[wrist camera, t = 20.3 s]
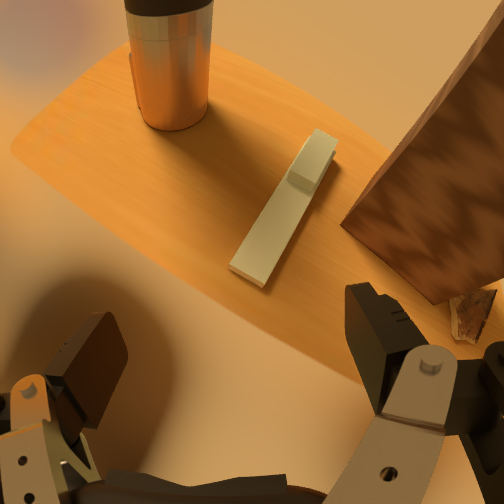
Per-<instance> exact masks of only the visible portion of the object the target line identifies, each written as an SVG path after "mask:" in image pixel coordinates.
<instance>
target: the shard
mask: <svg viewBox="0 0 504 504" xmlns="http://www.w3.org/2000/svg"><path fill="white" fill-rule="evenodd" d="M496 292H497V289H496V290H495V289H494V290H480V289H476V290H473V291H471V292H468V293H466V294H463V295H460V296H458V297H455V298H452V299H450V300H449V304H450V312H451V329H452V330H451V334H452V336H453V337H454V338H455V339H456V340H466V341H468V342H469V343H470V344H473V345H475V344H476V343H477V341H478V339H479V336H480V335H481V332H482V329H483V327H484V326H485V323H486V321H487V318H488V316H489V313H490V310H491V307H492V304H493V300H494V298H495V295H496Z"/></svg>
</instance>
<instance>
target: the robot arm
mask: <svg viewBox="0 0 504 504" xmlns="http://www.w3.org/2000/svg"><path fill="white" fill-rule="evenodd" d="M124 2H125V8H126V9H125V10H126V18H127V26H128V33H129V40H130V47H131V53H130V54H129V61H130V67H131V73H132V78H133V84H134V89H135V95H136V100H137V105H138V107H140V108H141V113H142V117H143V119H144V121H145V122H146V123H147V124H148V125H150V126H151V127H153V128H156V129H159V130H164V131H174V130H181V129H185V128H187V127H190V126H192V125H194V124H195V123H197V122H198V121H200V120H201V119H202V118H203V116H204V115H205V113H206V111H207V100H208V82H209V62H210V45H211V30H212V15H213V2H214V0H124ZM345 335H346V340H347V343H348V346H349V348H350V351H351V353H352V356H353V358H354V361H355V363H356V366H357V368H358V371H359V373H360V376H361V378H362V381H363V383H364V386H365V389H366V391H367V393H368V396H369V399H370V402H371V404H372V407H373V410H374V412H375V417H374V419H373V420H372V422H371V424H370V426H369V428H368V430H367V432H366V434H365V435H364V437H363V439H362V441H361V443H360V444H359V446H358V448H357V450H356V451H355V453H354V455H353V457H352V458H351V460H350V462H349V463H348V465H347V467H346V468H345V470H344V471H343V473H342V474H341V476H340V478H339V479H338V481H337V482H336V484H335V485H334V487H333V488H332V490H331V491H330V493H329V494H328V495H327V494H325V493H322V492H320V491H316V490H313V489H310V488H305V487H299V486H292V485H287V480H286V474H279V475H268V476H254V477H237V478H232V479H228V480H223V481H219V482H214V483H209V484H203V485H198V486H191V487H188V486H182V485H179V484H176V483H173V482H169V481H166V480H163V479H160V478H157V477H154V476H151V475H149V474H145V473H137V472H129V471H123V470H116V469H109V470H108V474H107V476H106V479H104V480H101V479H100V477H99V475H98V472H97V470H96V467H95V464H94V462H93V459H92V456H91V454H90V451H89V448H88V445H87V442H86V439H85V437H84V436H83V434H82V433H81V430H82V428H83V427H85V428H90V429H97V428H98V426H99V423H100V421H101V419H102V416H103V414H104V412H105V410H106V407H107V405H108V403H109V400H110V398H111V396H112V394H113V392H114V389H115V387H116V385H117V383H118V381H119V379H120V377H121V375H122V372H123V370H124V368H125V366H126V364H127V360H128V351H127V347H126V345H125V342H124V340H123V338H122V335H121V332H120V331H119V328H118V325H117V323H116V320H115V318H114V316H113V314H112V313H111V312H98V313H91V314H90V315H89V316H88V317H87V318H86V319H85V321H84V322H83V323H82V325H81V326H80V327H79V329H77V330H76V331H75V332H73V333H72V334H71V335H70V336H69V337H68V339H67V340H66V341H65V343H64V345H62V347H61V348H60V349H59V352H58V353H56V355H55V356H54V358H53V359H52V360H51V362H50V363H49V364H48V366H47V367H46V369H45V370H44V371H43V373H42V374H41V375H36V374H35V375H29V376H27V377H24V378H23V379H21V380H20V381H18V382H17V383H16V384H15V385H14V387H13V389H12V391H11V392H10V393H3V394H1V393H0V504H421V501H422V499H423V496H424V494H425V492H426V489H427V487H428V484H429V482H430V479H431V476H432V474H433V471H434V468H435V465H436V462H437V459H438V456H439V453H440V450H441V447H442V444H443V441H444V437H445V436H450V435H459V438H460V440H461V442H462V445H463V447H464V449H465V451H466V454H467V456H468V459H469V461H470V463H471V466H472V469H473V471H474V474H475V476H476V479H477V481H478V484H479V487H480V490H481V492H482V495H483V498H484V501H485V504H504V418H503V416H504V341H499V342H495V343H493V344H491V345H489V346H488V347H487V349H486V351H485V354H484V357H483V359H473V360H456V358H455V356H454V355H453V354H452V353H451V352H450V351H449V350H447V349H445V348H443V347H441V346H437V345H430V344H429V343H428V342H427V340H426V339H425V337H424V336H423V335H422V333H421V332H420V330H419V329H418V328H417V326H416V325H415V324H414V322H413V321H412V320H410V317H409V316H408V314H407V313H406V312H404V309H403V308H402V306H401V305H400V304H399V303H398V301H397V300H395V299H393V298H391V297H390V296H388V295H386V294H383V295H378V294H377V293H376V291H375V290H374V288H373V287H372V286H371V284H370V283H369V282H365V283H359V284H352V285H347V286H346V288H345Z"/></svg>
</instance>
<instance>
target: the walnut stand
mask: <svg viewBox="0 0 504 504" xmlns="http://www.w3.org/2000/svg"><path fill="white" fill-rule="evenodd" d="M340 225H341V226H342V227H343V228H345V229H346V230H347V231H348V232H350V233H351V234H352V235H353V236H355V237H356V238H357V239H358V240H359V241H361V242H362V243H363V244H364V245H366V246H367V247H368V248H369V249H370V250H372V251H373V252H374V253H375V254H376V255H377V256H379V257H380V258H381V259H382V260H383V261H385V262H386V263H387V264H388V265H389V266H390V267H392V268H393V269H394V270H395V271H396V272H397V273H398V274H400V275H401V276H402V277H403V278H404V279H405V280H406V281H408V282H409V283H410V284H411V285H412V286H413V287H414V288H415V289H417V290H418V291H419V292H420V293H421V294H422V295H423V296H424V297H425V298H426V299H428V300H429V301H430V302H431V303H432V304H433V305H436V304H439V303H441V302H444V301H447V300H450V299H452V298H455V297H458V296H460V295H463V294H466V293H468V292H471V291H473V290H476V289H478V288H481V287H483V286H486V285H488V284H490V283H493V282H495V281H498V280H500V279H502V278H504V0H502V1H501V3H500V4H499V6H498V7H497V9H496V10H495V12H494V14H493V15H492V16H491V18H490V20H489V21H488V23H487V24H486V26H485V27H484V29H483V30H482V31H481V33H480V35H479V36H478V38H477V39H476V40H475V42H474V43H473V45H472V46H471V48H470V49H469V50H468V52H467V53H466V55H465V56H464V58H463V59H462V61H461V62H460V63H459V65H458V66H457V68H456V69H455V70H454V72H453V73H452V74H451V76H450V77H449V79H448V80H447V81H446V83H445V84H444V85H443V87H442V88H441V89H440V91H439V92H438V94H437V95H436V96H435V98H434V99H433V100H432V102H431V103H430V104H429V106H428V107H427V108H426V110H425V111H424V112H423V114H422V115H421V116H420V118H419V119H418V120H417V121H416V123H415V124H414V125H413V127H412V128H411V129H410V131H409V132H408V133H407V134H406V136H405V137H404V138H403V140H402V141H401V142H400V143H399V145H398V146H397V147H396V149H395V150H394V151H393V152H392V154H391V155H390V156H389V157H388V159H387V160H386V161H385V162H384V164H383V165H382V166H381V167H380V169H379V170H378V171H377V172H376V174H375V175H374V176H373V178H372V179H371V181H370V182H369V183H368V185H367V186H366V188H365V189H364V191H363V192H362V194H361V195H360V197H359V198H358V200H357V201H356V202H355V204H354V205H353V207H352V208H351V210H350V211H349V213H348V214H347V215H346V217H345V218H344V220H343V221H342V223H341V224H340Z"/></svg>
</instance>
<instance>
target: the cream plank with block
mask: <svg viewBox="0 0 504 504" xmlns="http://www.w3.org/2000/svg"><path fill="white" fill-rule="evenodd" d="M338 141H339V140H337V139H336V138H334V137H332V136H330V135H328V134H326V133H325V132H323V131H321V130H319V129H317V128H316V129H315V130H314V132H313V134H312V135H311V137H308V139H307V141H306V142H305V144H304V145H303V147H302V148H301V150H300V152H299V153H298V155H297V156H296V158H295V159H294V161H293V163H292V164H291V166H290V167H289V169H288V170H287V172H286V174H285V175H284V177H283V178H282V180H281V182H280V183H279V185H278V186H277V188H276V190H275V191H274V193H273V194H272V196H271V197H270V199H269V201H268V202H267V204H266V205H265V207H264V209H263V210H262V212H261V213H260V215H259V217H258V218H257V220H256V221H255V223H254V225H253V226H252V228H251V230H250V231H249V233H248V234H247V236H246V238H245V239H244V241H243V242H242V244H241V246H240V247H239V249H238V250H237V252H236V254H235V255H234V257H233V259H232V260H231V262H230V263H229V268H228V269H230V270H231V271H233V272H235V273H237V274H238V275H240V276H242V277H244V278H245V279H247V280H249V281H251V282H252V283H254V284H256V285H258V286H259V287H261V288H263V286H264V285H265V283H266V281H267V280H268V278H269V276H270V274H271V272H272V271H273V269H274V267H275V265H276V263H277V261H278V260H279V258H280V256H281V254H282V252H283V251H284V249H285V247H286V245H287V243H288V241H289V240H290V238H291V236H292V234H293V232H294V230H295V229H296V227H297V225H298V223H299V221H300V219H301V217H302V216H303V214H304V212H305V210H306V208H307V206H308V204H309V202H310V201H311V199H312V197H313V195H314V193H315V191H316V189H317V187H318V186H319V184H320V182H321V180H322V178H323V176H324V174H325V172H326V170H327V168H328V167H329V165H330V163H331V161H332V159H333V157H334V155H335V153H336V151H335V150H334V148H335V147H336V145H337V143H338Z"/></svg>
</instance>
